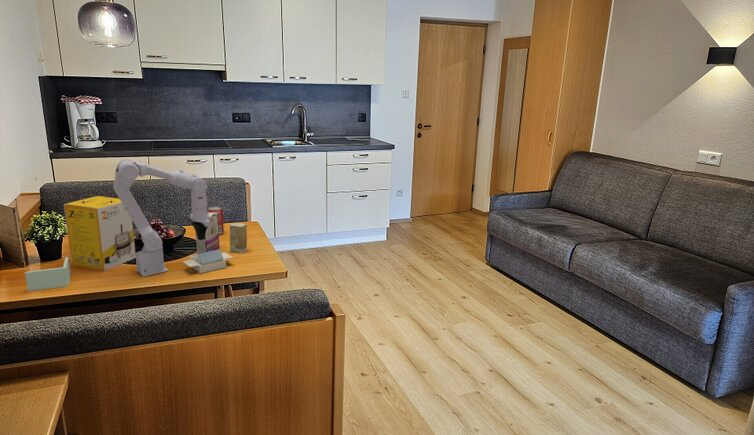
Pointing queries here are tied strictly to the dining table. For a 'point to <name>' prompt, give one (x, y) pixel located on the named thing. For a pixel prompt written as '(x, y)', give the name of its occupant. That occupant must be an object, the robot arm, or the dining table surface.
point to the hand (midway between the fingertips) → (201, 239)
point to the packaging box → (99, 233)
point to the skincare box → (238, 237)
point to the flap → (210, 256)
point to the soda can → (220, 217)
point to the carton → (206, 267)
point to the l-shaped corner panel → (48, 277)
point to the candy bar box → (209, 236)
